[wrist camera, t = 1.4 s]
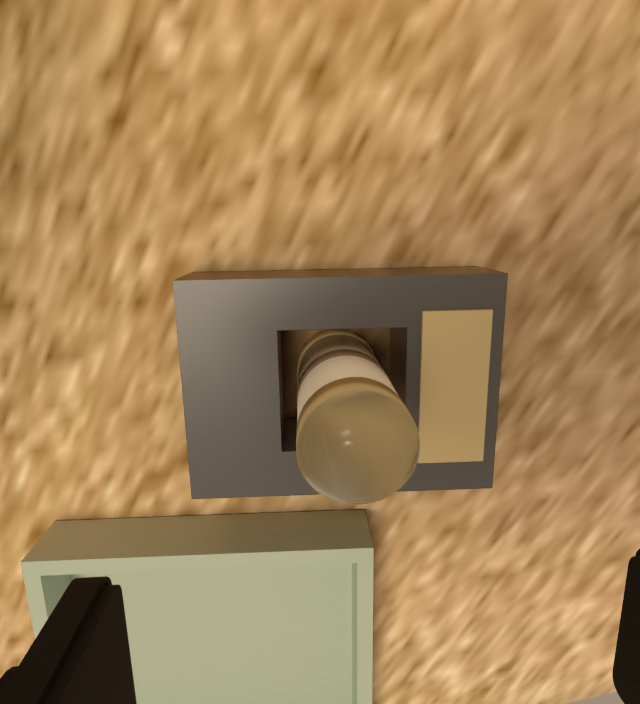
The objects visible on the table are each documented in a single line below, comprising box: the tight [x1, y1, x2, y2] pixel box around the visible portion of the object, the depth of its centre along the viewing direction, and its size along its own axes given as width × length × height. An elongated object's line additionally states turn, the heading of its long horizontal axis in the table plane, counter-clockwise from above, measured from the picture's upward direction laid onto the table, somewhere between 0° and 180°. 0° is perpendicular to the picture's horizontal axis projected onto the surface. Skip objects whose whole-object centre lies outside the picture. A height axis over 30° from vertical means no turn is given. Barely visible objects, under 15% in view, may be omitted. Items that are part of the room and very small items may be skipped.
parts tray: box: [21, 509, 374, 704], centre depth 28 cm, size 17×14×4 cm
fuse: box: [296, 329, 420, 505], centre depth 21 cm, size 4×4×10 cm
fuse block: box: [173, 266, 508, 499], centre depth 24 cm, size 14×10×4 cm
